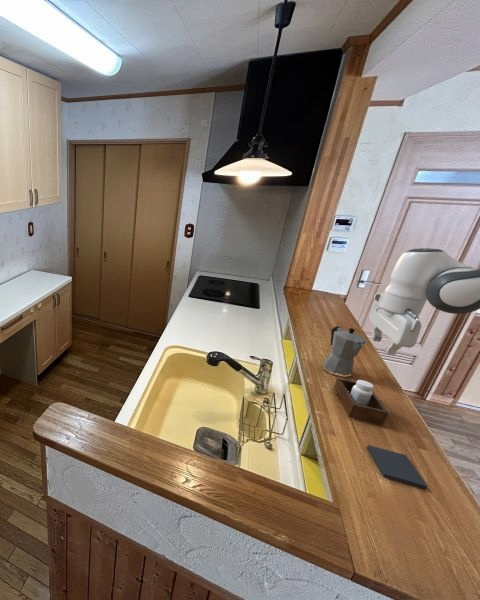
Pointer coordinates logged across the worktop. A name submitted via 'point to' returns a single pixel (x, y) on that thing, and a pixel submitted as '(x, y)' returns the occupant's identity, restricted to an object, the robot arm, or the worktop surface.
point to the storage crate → (370, 413)
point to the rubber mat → (396, 466)
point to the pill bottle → (362, 392)
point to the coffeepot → (343, 351)
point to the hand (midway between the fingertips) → (382, 347)
